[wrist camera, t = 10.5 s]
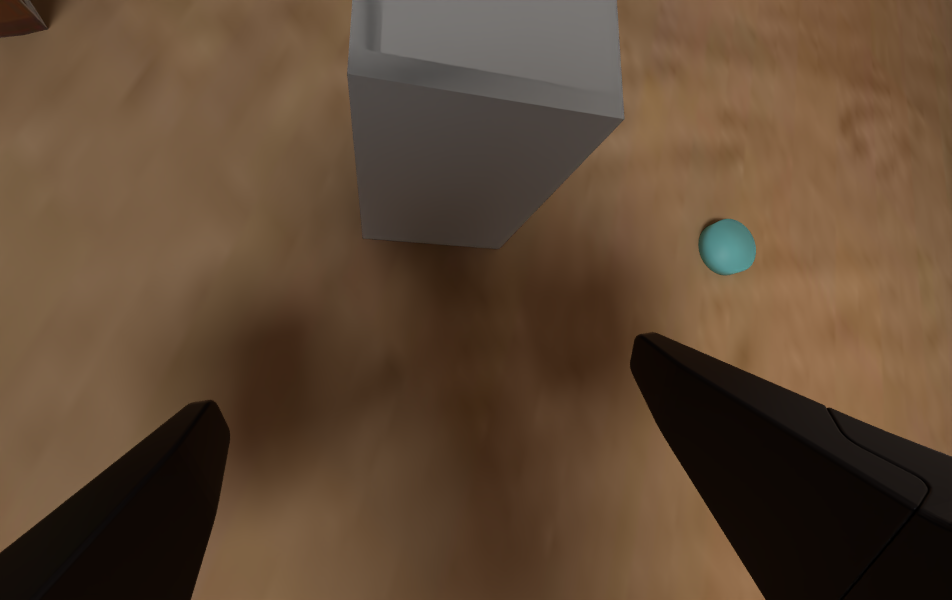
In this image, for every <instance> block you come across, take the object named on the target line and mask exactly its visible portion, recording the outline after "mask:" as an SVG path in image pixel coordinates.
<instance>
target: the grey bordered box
mask: <svg viewBox="0 0 952 600" xmlns="http://www.w3.org/2000/svg"><path fill="white" fill-rule="evenodd" d="M347 76H348V86H349V97H350V108H351V119H352V129H353V140H354V151H355V161H356V172H357V183H358V193H359V204H360V215H361V225H362V236H363V238H365V239H378V240H390V241H403V242H416V243H428V244H441V245H454V246H466V247H479V248H492V249H500V248H501V247H502V245H503V244H504V243H505V242H506V241H507V240H508V239H509V238H510V237H511V236H512V235H513V234H514V233H515V232H516V231H517V230H518V229H519V228H520V227H521V226H522V225H523V224H524V223H525V222H526V221H527V220H528V219H529V217H530V216H531V215H532V214H533V213H534V212H535V211H536V210H537V209H538V208H539V207H540V206H541V205H542V204H543V203H544V202H545V201H546V200H547V199H548V198H549V197H550V196H551V195H552V194H553V193H554V192H555V191H556V189H557V188H558V187H559V186H560V185H561V184H562V183H563V182H564V181H565V180H566V179H567V178H568V177H569V176H570V175H571V174H572V173H573V172H574V171H575V170H576V169H577V168H578V167H579V166H580V165H581V164H582V163H583V162H584V160H585V159H586V158H587V157H588V156H589V155H590V154H591V153H592V152H593V151H594V150H595V149H596V148H597V147H598V146H599V145H600V144H601V143H602V142H603V141H604V140H605V139H606V138H607V137H608V136H609V135H610V134H611V132H612V131H613V130H614V129H615V128H616V127H617V126H618V125H619V124H620V123H621V122H622V121H623V120H624V106H623V91H622V75H621V60H620V44H619V29H618V13H617V0H353V1H352V15H351V29H350V43H349V57H348V71H347Z"/></svg>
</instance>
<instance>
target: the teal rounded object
mask: <svg viewBox="0 0 952 600" xmlns="http://www.w3.org/2000/svg"><path fill="white" fill-rule="evenodd" d="M699 252H700V255H701V258H702V260H703V262H704V263H705V264H706V266H707V267H708V268H709V269H710V270H712V271H713V272H715V273H717V274H720V275H731V274H734V273H738V272H741V271H744V270H746V269H748V268H749V267H750V266H751V265H752V263H753V262H754V259H755V255H756V246H755V242H754V239H753V237H752V235H751V233H750V231H749V230H748V229H747V228H746V227H745V226H744V225H743V224H742V223H740V222H738V221H736V220H733V219H724V220H721V221H718V222H716V223H714V224H712V225H709V226H708V227H706V228H705V229H704V230H703V231H702V233H701V235H700V237H699Z"/></svg>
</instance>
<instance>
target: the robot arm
mask: <svg viewBox="0 0 952 600" xmlns="http://www.w3.org/2000/svg"><path fill="white" fill-rule="evenodd" d="M630 368H631V372H632V374H633V376H634V378H635V381H636V383H637V385H638V387H639V389H640V391H641V393H642V395H643V397H644V399H645V401H646V403H647V405H648V407H649V409H650V411H651V413H652V416H653V418H654V420H655V422H656V423H657V425H658V427H659V429H660V431H661V433H662V434H663V436H664V438H665V439H666V441H667V442H668V444H669V446H670V447H671V449H672V451H673V452H674V454H675V455H676V457H677V459H678V460H679V462H680V463H681V465H682V467H683V468H684V470H685V471H686V473H687V475H688V476H689V478H690V479H691V481H692V483H693V484H694V486H695V487H696V489H697V491H698V492H699V494H700V495H701V497H702V499H703V500H704V502H705V503H706V505H707V507H708V508H709V510H710V511H711V513H712V515H713V516H714V518H715V519H716V521H717V523H718V524H719V526H720V527H721V529H722V531H723V532H724V534H725V535H726V537H727V539H728V540H729V542H730V543H731V545H732V547H733V548H734V550H735V551H736V553H737V555H738V556H739V558H740V559H741V561H742V563H743V564H744V566H745V567H746V569H747V571H748V572H749V574H750V575H751V577H752V579H753V580H754V582H755V583H756V585H757V587H758V588H759V590H760V591H761V593H762V595H763V596H764V598H765V599H766V600H952V456H949V455H946V454H944V453H941V452H938V451H936V450H933V449H930V448H928V447H925V446H923V445H920V444H917V443H915V442H912V441H910V440H907V439H905V438H902V437H899V436H897V435H894V434H892V433H889V432H886V431H884V430H882V429H879V428H877V427H874V426H872V425H870V424H867V423H865V422H862V421H860V420H858V419H855V418H853V417H850V416H848V415H846V414H844V413H841V412H839V411H837V410H834V409H832V408H826V407H825V406H824V405H823V404H820V403H818V402H816V401H813V400H811V399H809V398H806V397H804V396H802V395H799V394H797V393H795V392H792V391H790V390H788V389H785V388H783V387H781V386H779V385H776V384H774V383H772V382H769V381H767V380H765V379H762V378H760V377H758V376H755V375H753V374H751V373H748V372H746V371H744V370H741V369H739V368H737V367H734V366H732V365H730V364H727V363H725V362H723V361H721V360H718V359H716V358H714V357H711V356H709V355H707V354H704V353H702V352H700V351H697V350H695V349H693V348H690V347H688V346H686V345H683V344H681V343H679V342H676V341H674V340H672V339H670V338H667V337H665V336H663V335H660V334H658V333H655V332H651V333H644V334H639V335H637V336H636V338H635V340H634V345H633V350H632V355H631V360H630ZM229 443H230V431H229V427H228V425H227V423H226V421H225V419H224V417H223V415H222V413H221V411H220V409H219V407H218V405H217V403H216V402H215V401H213V400H205V401H199V402H193V403H190V404H188V405H187V406H185V407H184V408H183V409H181V410H180V411H179V412H178V413H176V414H175V415H174V416H173V417H171V418H170V419H169V420H168V421H166V422H165V423H164V424H162V425H161V426H160V427H159V428H157V429H156V430H155V431H154V432H152V433H151V434H150V435H149V436H147V437H146V438H145V439H144V440H142V441H141V442H140V443H138V444H137V445H136V446H135V447H133V448H132V449H131V450H130V451H128V452H127V453H126V454H125V455H123V456H122V457H121V458H120V459H118V460H117V461H116V462H114V463H113V464H112V465H111V466H109V467H108V468H107V469H106V470H104V471H103V472H102V473H101V474H99V475H98V476H97V477H95V478H94V479H93V480H92V481H90V482H89V483H88V484H87V485H85V486H84V487H83V488H82V489H80V490H79V491H78V492H77V493H75V494H74V495H73V496H71V497H70V498H69V499H68V500H66V501H65V502H64V503H63V504H61V505H60V506H59V507H58V508H56V509H55V510H54V511H52V512H51V513H50V514H49V515H47V516H46V517H45V518H44V519H42V520H41V521H40V522H39V523H37V524H36V525H35V526H34V527H32V528H31V529H30V530H28V531H27V532H26V533H25V534H23V535H22V536H21V537H20V538H18V539H17V540H16V541H15V542H13V543H12V544H11V545H10V546H8V547H7V548H6V549H4V550H3V551H2V552H1V553H0V600H191V597H192V594H193V590H194V587H195V584H196V580H197V577H198V574H199V570H200V567H201V564H202V561H203V557H204V554H205V551H206V547H207V544H208V541H209V537H210V534H211V531H212V527H213V524H214V520H215V516H216V513H217V508H218V503H219V498H220V493H221V487H222V481H223V476H224V470H225V465H226V459H227V454H228V448H229Z"/></svg>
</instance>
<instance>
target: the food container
mask: <svg viewBox="0 0 952 600" xmlns="http://www.w3.org/2000/svg"><path fill="white" fill-rule="evenodd" d="M46 29H48V28H47V27H46V25H45V23H44V22H43V20H42V19H41V17H40V15H39V14H38V12H37V11H36V9H35V7H34V6H33V4H32V3H31V1H30V0H0V38H1V37H9V36H18V35H25V34H29V33H33V32H38V31H42V30H46Z"/></svg>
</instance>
